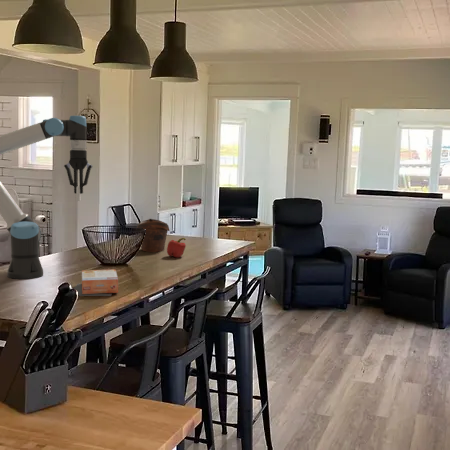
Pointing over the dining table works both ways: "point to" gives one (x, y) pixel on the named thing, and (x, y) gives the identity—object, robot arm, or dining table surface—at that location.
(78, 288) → the grey mat
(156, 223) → the brown lidded pot
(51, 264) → the dining table surface
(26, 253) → the robot arm
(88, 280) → the cracker box
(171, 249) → the vegetable
